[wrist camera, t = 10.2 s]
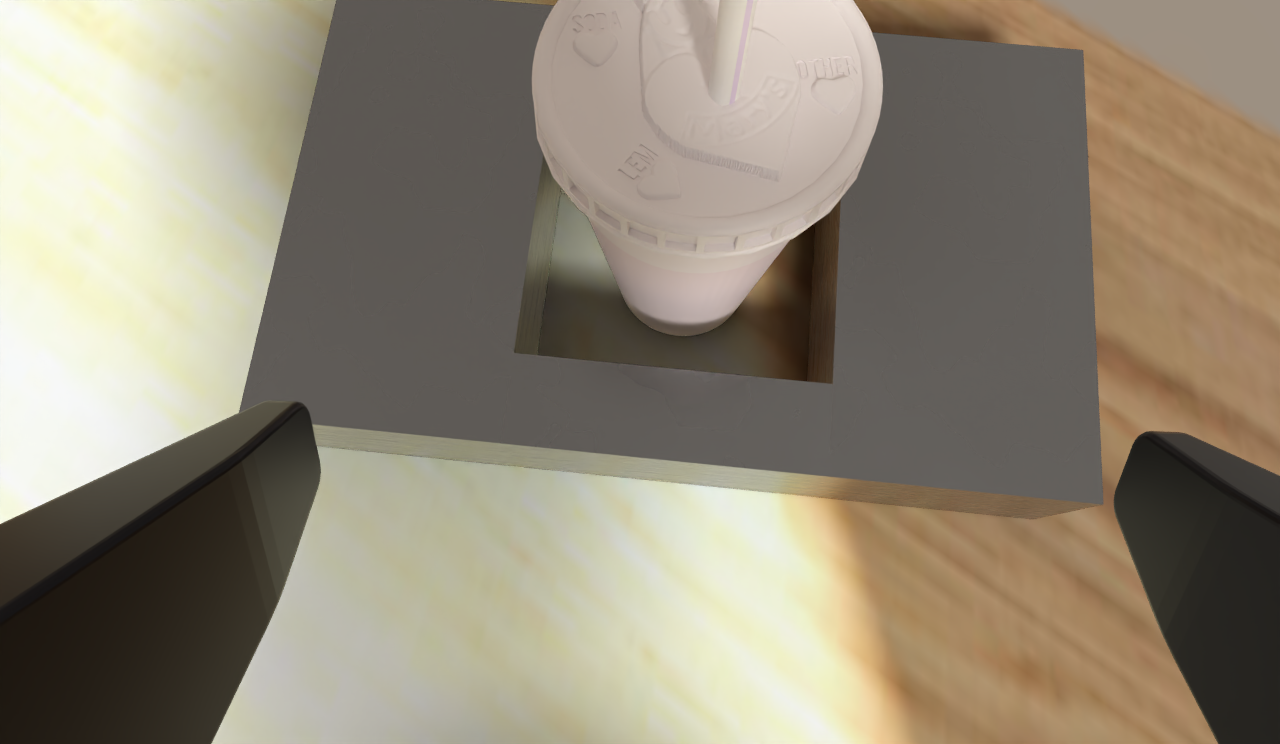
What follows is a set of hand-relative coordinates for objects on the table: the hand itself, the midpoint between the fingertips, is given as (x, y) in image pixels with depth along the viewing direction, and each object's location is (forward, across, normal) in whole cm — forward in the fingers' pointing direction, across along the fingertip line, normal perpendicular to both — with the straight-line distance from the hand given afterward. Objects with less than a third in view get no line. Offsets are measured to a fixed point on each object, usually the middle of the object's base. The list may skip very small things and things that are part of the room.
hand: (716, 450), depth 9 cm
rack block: (+15, 0, +4) cm, 15 cm away
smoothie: (+15, 0, +4) cm, 16 cm away
